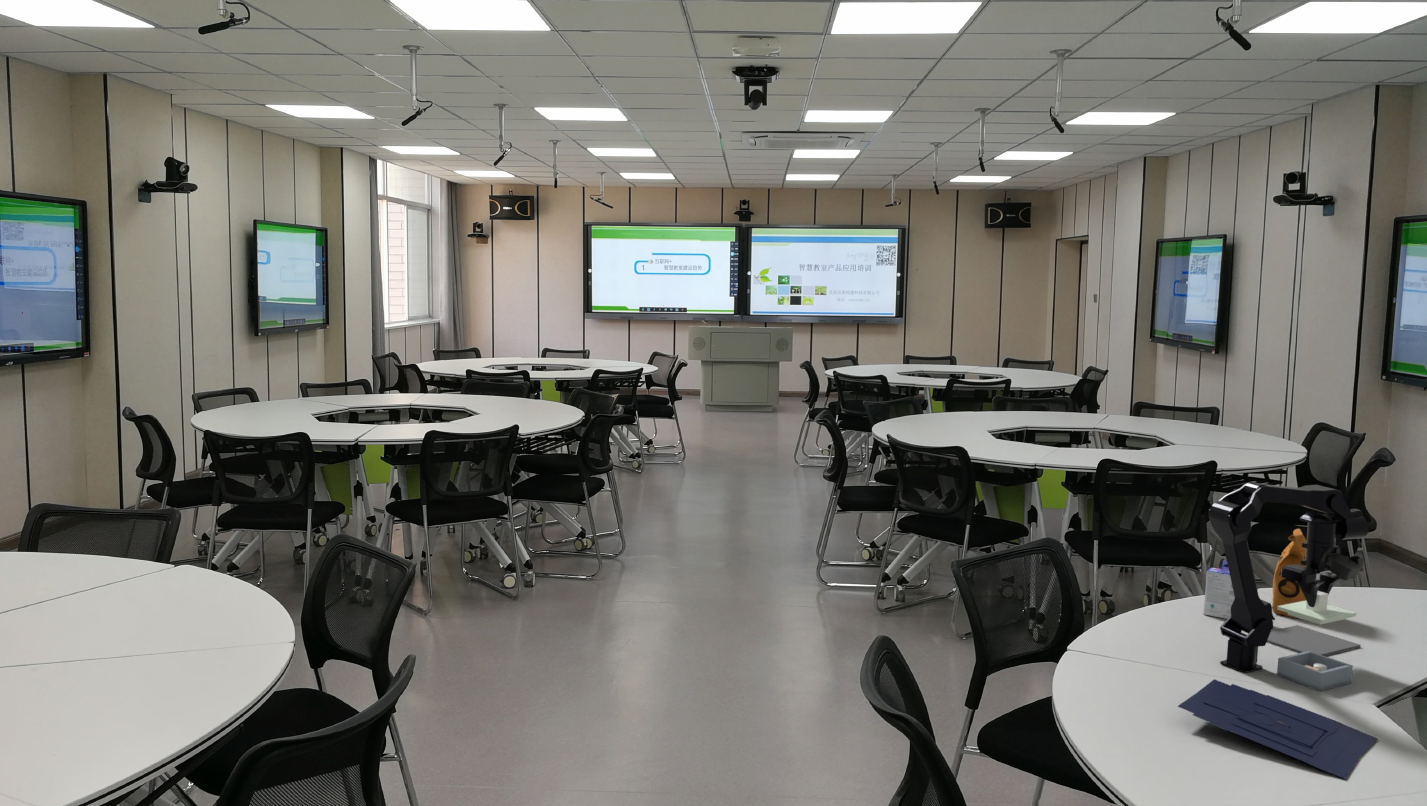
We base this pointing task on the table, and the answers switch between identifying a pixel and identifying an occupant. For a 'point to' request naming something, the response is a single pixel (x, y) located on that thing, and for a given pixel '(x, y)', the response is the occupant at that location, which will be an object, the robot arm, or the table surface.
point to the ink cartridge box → (1218, 592)
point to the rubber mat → (1309, 641)
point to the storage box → (1314, 670)
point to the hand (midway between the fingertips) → (1316, 605)
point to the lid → (1317, 610)
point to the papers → (1281, 726)
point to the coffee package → (1286, 588)
